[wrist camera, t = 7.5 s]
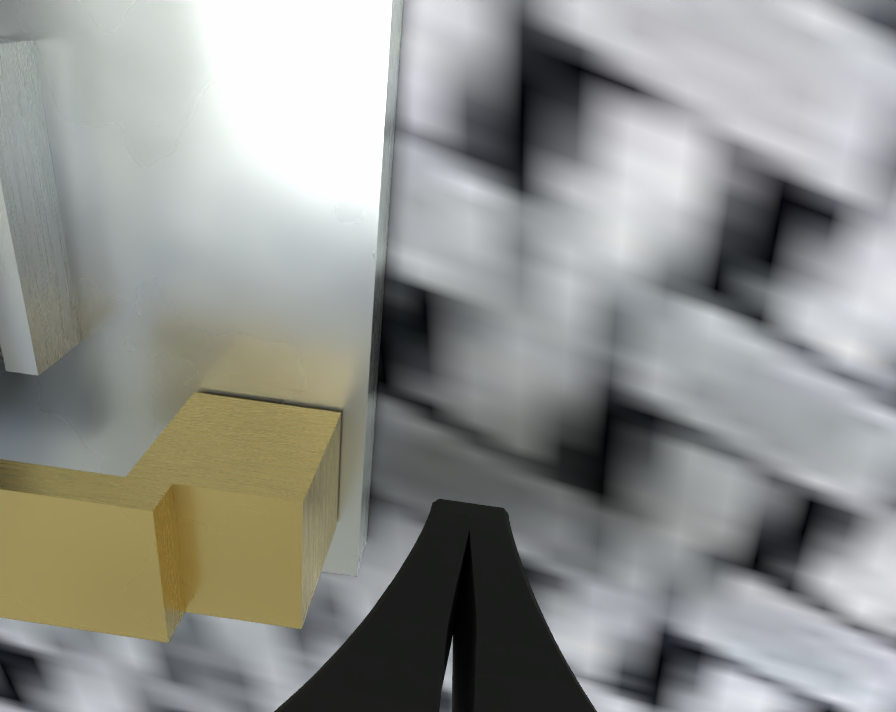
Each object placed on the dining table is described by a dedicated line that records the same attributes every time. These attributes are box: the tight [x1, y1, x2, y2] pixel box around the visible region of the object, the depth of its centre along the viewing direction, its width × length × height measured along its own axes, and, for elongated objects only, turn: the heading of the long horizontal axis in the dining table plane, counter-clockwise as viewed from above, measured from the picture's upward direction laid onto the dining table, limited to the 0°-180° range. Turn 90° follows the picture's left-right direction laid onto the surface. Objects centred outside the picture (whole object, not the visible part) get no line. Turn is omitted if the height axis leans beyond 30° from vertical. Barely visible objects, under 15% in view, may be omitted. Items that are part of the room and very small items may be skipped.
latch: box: [0, 392, 341, 643], centre depth 13 cm, size 3×5×4 cm, turn 84°
